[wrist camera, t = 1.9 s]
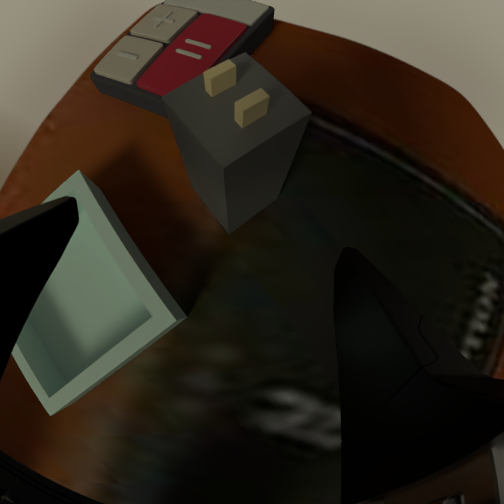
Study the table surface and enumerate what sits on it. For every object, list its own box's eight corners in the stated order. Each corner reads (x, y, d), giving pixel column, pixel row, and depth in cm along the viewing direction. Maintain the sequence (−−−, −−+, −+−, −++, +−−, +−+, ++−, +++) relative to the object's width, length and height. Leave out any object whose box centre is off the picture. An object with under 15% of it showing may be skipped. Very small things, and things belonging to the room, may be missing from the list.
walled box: (187, 317, 20) (176, 320, 17) (75, 401, 19) (50, 416, 15) (100, 189, 22) (78, 169, 18) (6, 279, 20) (-23, 274, 16)
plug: (277, 198, 22) (318, 95, 10) (228, 234, 22) (221, 153, 10) (240, 155, 23) (246, 34, 11) (192, 188, 22) (155, 79, 10)
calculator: (84, 72, 20) (182, -20, 21) (101, 96, 24) (187, 6, 26) (183, 106, 19) (277, 2, 21) (192, 133, 24) (273, 31, 25)
